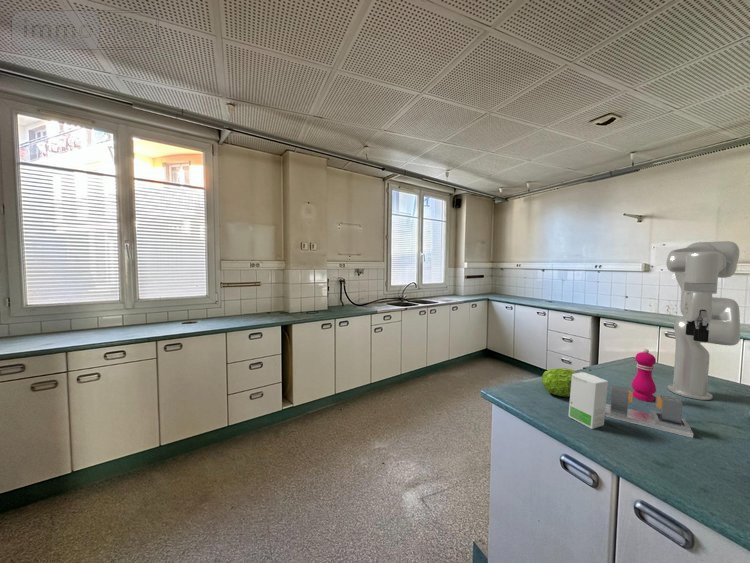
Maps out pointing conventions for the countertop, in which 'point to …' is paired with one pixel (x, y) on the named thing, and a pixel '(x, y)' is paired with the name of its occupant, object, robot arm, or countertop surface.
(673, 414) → the grey block
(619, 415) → the rail
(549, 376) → the lettuce
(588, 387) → the skincare box
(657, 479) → the countertop surface
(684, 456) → the countertop surface
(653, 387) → the pepper mill
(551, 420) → the countertop surface
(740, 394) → the countertop surface
